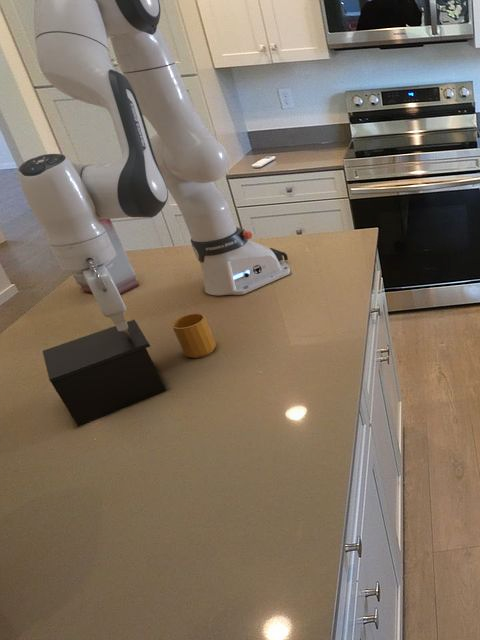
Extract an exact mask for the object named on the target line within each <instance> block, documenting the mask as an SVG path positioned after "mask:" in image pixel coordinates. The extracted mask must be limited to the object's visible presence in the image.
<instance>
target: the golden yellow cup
mask: <svg viewBox="0 0 480 640" xmlns="http://www.w3.org/2000/svg"><path fill="white" fill-rule="evenodd" d="M206 318H207V317H206V316H205V315H204V314H203V313H200V312H197V313H189V314H185V315H183V316H180V317H178V318H177V319H175V320H174V321H173V322H172V323H171V328H172V329H173V332H174V334H175V336H176V339H177V342H178V343H179V345H180V347H181V350H182V352H183V354H184V356H185V357H187V358H191V359H199V358H203V357H205V356H207V355H210V354H211V353H212V352H214V350H215V349H216V347H217V343H216V340H215V338H214V336H213V333H212V331H211V328H210V326H209V324H208V321H207V319H206Z"/></svg>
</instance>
